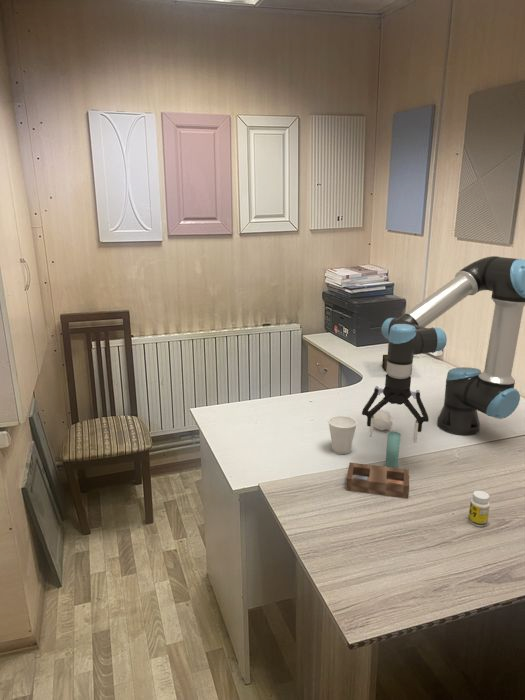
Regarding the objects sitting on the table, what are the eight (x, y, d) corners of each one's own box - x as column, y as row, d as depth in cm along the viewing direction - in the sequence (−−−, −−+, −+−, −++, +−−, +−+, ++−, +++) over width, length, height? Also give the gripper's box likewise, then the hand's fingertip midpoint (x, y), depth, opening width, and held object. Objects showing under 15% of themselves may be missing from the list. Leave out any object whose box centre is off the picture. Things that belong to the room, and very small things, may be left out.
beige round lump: (392, 434, 191) (394, 415, 188) (371, 432, 192) (372, 413, 190) (391, 425, 198) (393, 406, 196) (371, 423, 200) (372, 405, 197)
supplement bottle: (465, 516, 142) (468, 489, 139) (481, 516, 142) (485, 489, 140) (473, 527, 137) (477, 499, 135) (490, 526, 137) (494, 499, 135)
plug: (397, 465, 169) (400, 432, 165) (397, 471, 165) (400, 437, 161) (385, 464, 170) (387, 430, 166) (385, 470, 166) (387, 436, 162)
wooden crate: (399, 372, 259) (400, 358, 257) (384, 372, 259) (385, 358, 257) (396, 368, 266) (397, 354, 264) (382, 368, 266) (382, 354, 264)
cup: (358, 446, 182) (359, 417, 178) (353, 459, 173) (354, 429, 169) (330, 442, 185) (331, 413, 182) (324, 454, 176) (325, 425, 173)
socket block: (407, 480, 159) (408, 468, 158) (408, 498, 150) (409, 485, 149) (349, 473, 164) (349, 461, 163) (345, 490, 154) (346, 477, 153)
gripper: (440, 374, 159) (433, 437, 165) (358, 367, 165) (354, 428, 170) (442, 382, 152) (434, 448, 158) (356, 374, 158) (352, 438, 163)
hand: (392, 438), depth 164 cm, fingers open, 13 cm apart
